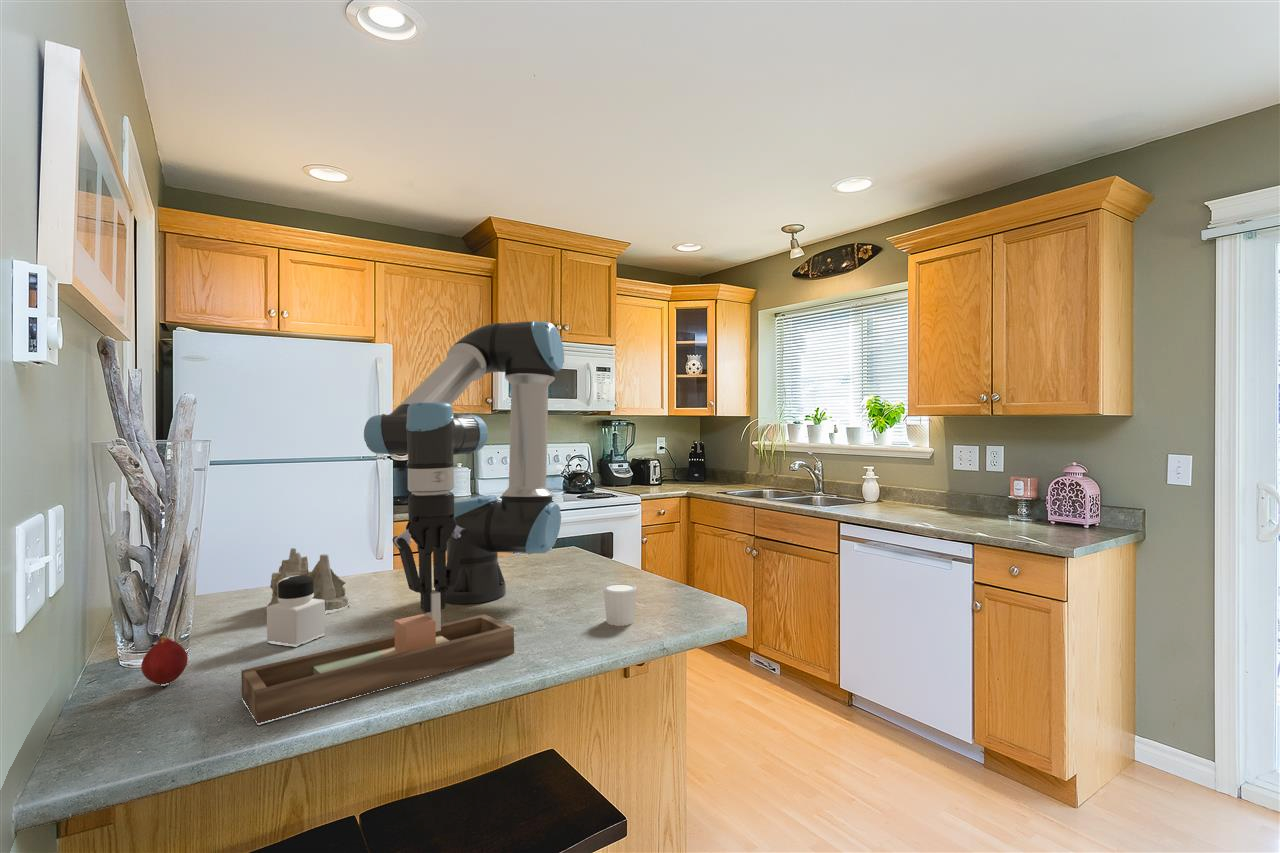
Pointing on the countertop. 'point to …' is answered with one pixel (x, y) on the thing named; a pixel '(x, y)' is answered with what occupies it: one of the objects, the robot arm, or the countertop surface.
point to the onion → (164, 661)
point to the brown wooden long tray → (369, 667)
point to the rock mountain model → (323, 577)
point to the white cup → (620, 604)
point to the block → (414, 633)
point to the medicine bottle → (295, 612)
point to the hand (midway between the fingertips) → (433, 629)
